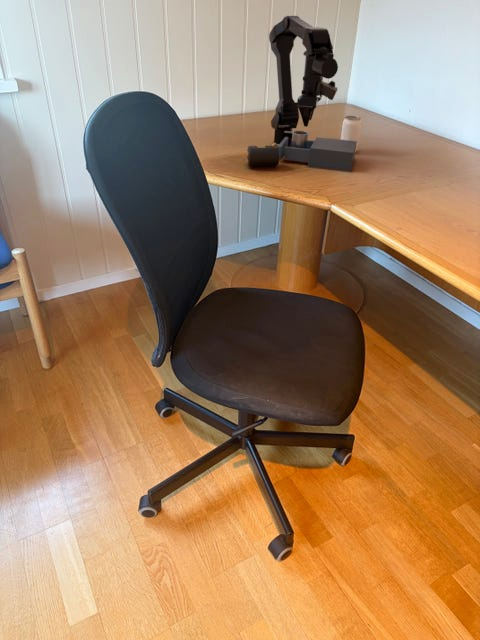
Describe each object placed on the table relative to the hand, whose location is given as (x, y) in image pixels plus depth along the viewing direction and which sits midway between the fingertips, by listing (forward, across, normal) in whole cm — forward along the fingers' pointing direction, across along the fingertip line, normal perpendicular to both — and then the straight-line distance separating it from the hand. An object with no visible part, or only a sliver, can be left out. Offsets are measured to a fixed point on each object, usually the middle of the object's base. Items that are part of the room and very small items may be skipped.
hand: (307, 123), depth 169 cm
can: (+12, +14, -14) cm, 24 cm away
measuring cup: (+10, -2, +4) cm, 11 cm away
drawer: (+11, -2, +4) cm, 12 cm away
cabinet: (+12, -2, -10) cm, 16 cm away
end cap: (+12, -14, +12) cm, 23 cm away
